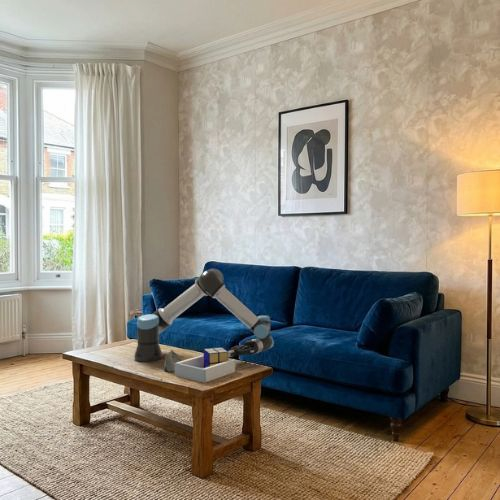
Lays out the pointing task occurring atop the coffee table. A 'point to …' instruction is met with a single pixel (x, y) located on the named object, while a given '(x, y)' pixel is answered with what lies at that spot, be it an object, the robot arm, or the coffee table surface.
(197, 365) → the grey storage tray
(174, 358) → the mineral rock
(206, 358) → the puzzle cube
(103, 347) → the coffee table surface
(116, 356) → the coffee table surface
